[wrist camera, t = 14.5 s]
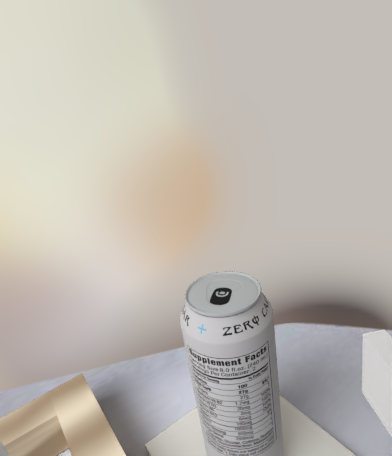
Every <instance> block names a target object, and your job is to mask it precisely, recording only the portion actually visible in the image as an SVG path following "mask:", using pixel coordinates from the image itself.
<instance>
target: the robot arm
mask: <svg viewBox="0 0 392 456" xmlns="http://www.w3.org/2000/svg"><path fill="white" fill-rule="evenodd" d="M362 393H363V394H364V396H365V397H366V399H367V400H368V402H369V403H370V405H371V407H372V408H373V410H374V411H375V413H376V414H377V416H378V417H379V419H380V420H381V422H382V423H383V425H384V426H385V428H386V429H387V431H388V432H389V434H390V435H391V437H392V337H391V336H390V335H389V334H388V333H387V331H386V330H385V329H383V330H378V331H374V332H369V333H364V334H363V351H362ZM0 456H9V454H8V452H7V451H6V449H5V447H4V445H3V444H2V442H1V440H0Z"/></svg>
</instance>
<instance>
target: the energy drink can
mask: <svg viewBox="0 0 392 456" xmlns="http://www.w3.org/2000/svg"><path fill="white" fill-rule="evenodd" d="M185 300H186V303H185V305H184V307H183V310H182V313H181V315H180V324H181V329H182V334H183V339H184V344H185V349H186V354H187V359H188V364H189V369H190V374H191V379H192V384H193V389H194V394H195V398H196V403H197V408H198V413H199V418H200V423H201V428H202V433H203V438H204V443H205V448H206V453H207V456H283V450H284V448H283V434H282V421H281V408H280V396H279V383H278V370H277V358H276V345H275V332H274V320H273V309H272V306H271V304H270V302H269V301H268V300H267V299H266V297H265V296H264V295H263V293H262V292H261V286H260V283H259V282H258V281H257V280H256V279H255V278H254V277H252V276H250V275H248V274H245V273H241V272H233V271H225V272H216V273H212V274H208V275H206V276H203V277H201V278H199V279H197V280H196V281H194V282H193V283H192V284H191V285H190V286H189V287H188V289H187V290H186V293H185Z"/></svg>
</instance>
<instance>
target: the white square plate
mask: <svg viewBox="0 0 392 456" xmlns="http://www.w3.org/2000/svg"><path fill="white" fill-rule="evenodd" d="M279 396H280V408H281V421H282V434H283V448H284V450H283V456H356V455H354V454H353V453H352V452H351V451H349V450H348V449H347V448H346V447H344V446H343V445H342V444H341V443H339V442H338V441H337V440H336V439H335V438H333V437H332V436H331V435H330V434H328V433H327V432H326V431H325V430H323V429H322V428H321V427H320V426H318V425H317V424H316V423H315V422H313V421H312V420H311V419H310V418H308V417H307V416H306V415H305V414H303V413H302V412H301V411H300V410H299V409H297V408H296V407H295V406H294V405H292V404H291V403H290V402H289V401H287V400H286V399H285V398H284V397H282V396H281V395H280V394H279ZM145 447H146V450H147V452H148V453H149V455H150V456H207V453H206V448H205V443H204V438H203V433H202V428H201V423H200V418H199V413H198V408H197V407H196V408H194V409H193V410H192V411H190V412H189V413H187V414H186V415H185V416H183V417H182V418H180V419H179V420H178V421H176V422H175V423H174V424H172V425H171V426H169V427H168V428H167V429H165V430H164V431H162V432H161V433H160V434H158V435H157V436H156V437H154V438H153V439H151V440H150V441H149V442H147V443H146V444H145Z"/></svg>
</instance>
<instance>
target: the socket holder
mask: <svg viewBox="0 0 392 456" xmlns="http://www.w3.org/2000/svg"><path fill="white" fill-rule="evenodd" d="M0 440H1V442H2V444H3V445H4V447H5V449H6V451H7V452H8V454H9V456H57V455H59V454H60V453H62V452H63V451H65V450H66V449H68V448H69V449H70V452H71V455H72V456H126V455H125V453H124V451H123V449H122V447H121V445H120V443H119V441H118V440H117V438H116V436H115V434H114V432H113V430H112V428H111V426H110V425H109V423H108V421H107V419H106V417H105V415H104V413H103V411H102V410H101V408H100V406H99V404H98V402H97V400H96V398H95V396H94V395H93V393H92V391H91V389H90V387H89V385H88V383H87V381H86V380H85V378H84V376H83V374H80V375H78V376H76V377H75V378H73V379H71V380H69V381H67V382H66V383H64V384H62V385H60V386H58V387H57V388H55V389H53V390H51V391H49V392H47V393H46V394H44V395H42V396H40V397H38V398H37V399H35V400H33V401H31V402H29V403H28V404H26V405H24V406H22V407H20V408H18V409H17V410H15V411H13V412H11V413H9V414H8V415H6V416H4V417H2V418H0Z"/></svg>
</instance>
